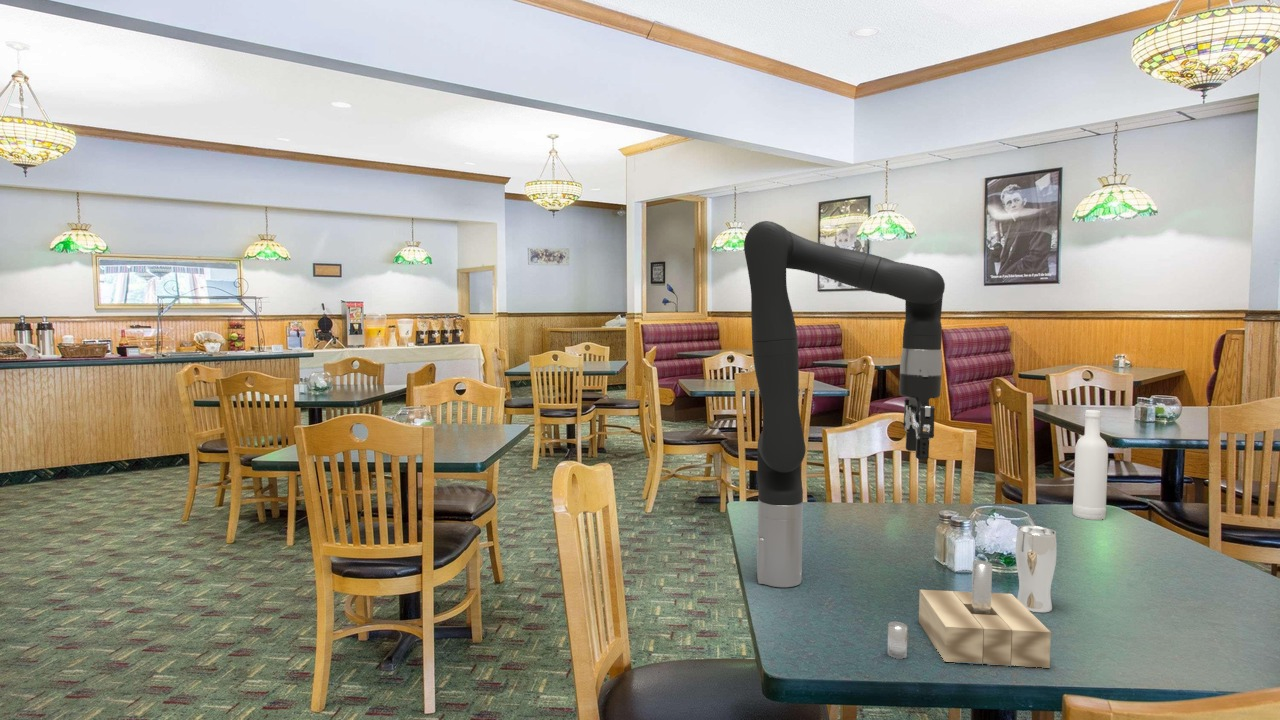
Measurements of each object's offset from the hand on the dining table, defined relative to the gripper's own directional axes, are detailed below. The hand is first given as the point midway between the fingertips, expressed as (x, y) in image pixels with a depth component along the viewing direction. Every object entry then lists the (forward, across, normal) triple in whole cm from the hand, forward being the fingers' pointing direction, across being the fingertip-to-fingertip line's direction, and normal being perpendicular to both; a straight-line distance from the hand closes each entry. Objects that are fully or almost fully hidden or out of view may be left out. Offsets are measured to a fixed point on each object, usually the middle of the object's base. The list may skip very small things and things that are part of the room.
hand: (916, 454), depth 141 cm
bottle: (+28, -70, +64) cm, 98 cm away
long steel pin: (+29, +18, +8) cm, 35 cm away
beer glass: (+29, 0, +23) cm, 37 cm away
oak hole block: (+29, +18, +7) cm, 35 cm away
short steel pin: (+29, +25, -7) cm, 39 cm away
